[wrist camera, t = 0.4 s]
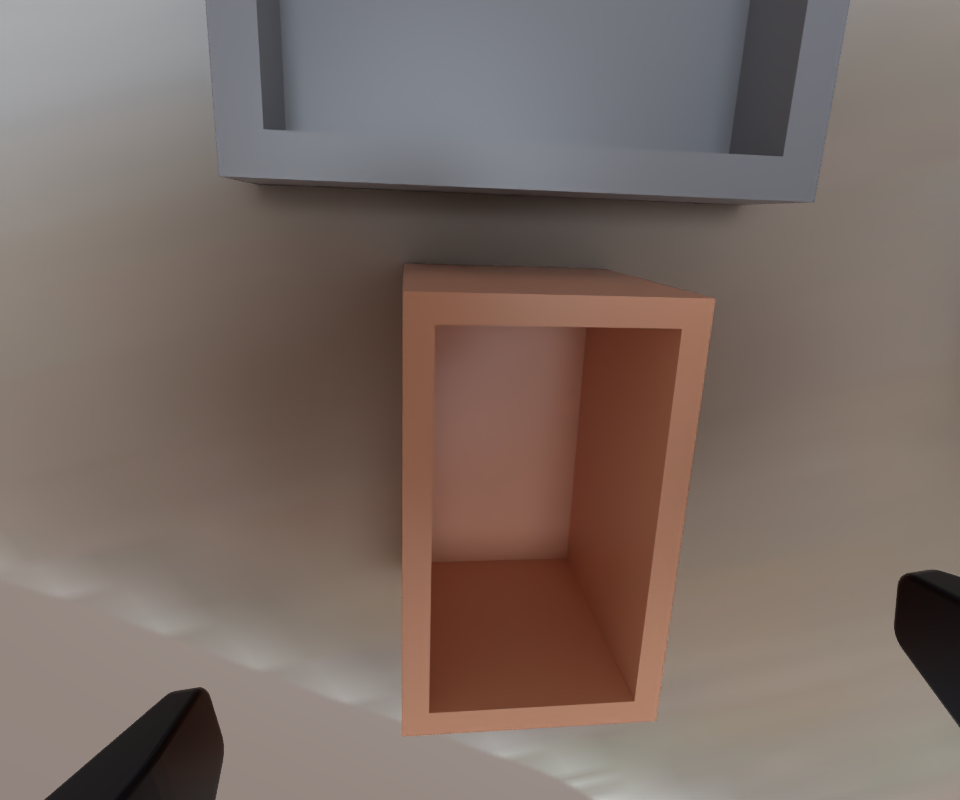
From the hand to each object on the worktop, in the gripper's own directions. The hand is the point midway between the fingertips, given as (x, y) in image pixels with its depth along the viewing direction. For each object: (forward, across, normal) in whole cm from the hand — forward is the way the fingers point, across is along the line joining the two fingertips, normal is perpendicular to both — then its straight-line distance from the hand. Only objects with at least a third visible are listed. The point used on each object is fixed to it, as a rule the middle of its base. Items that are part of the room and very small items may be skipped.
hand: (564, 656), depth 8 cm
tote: (+12, 0, +1) cm, 12 cm away
